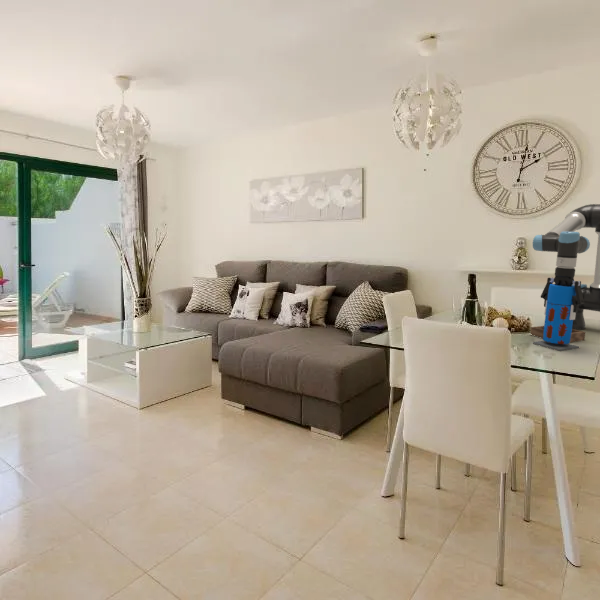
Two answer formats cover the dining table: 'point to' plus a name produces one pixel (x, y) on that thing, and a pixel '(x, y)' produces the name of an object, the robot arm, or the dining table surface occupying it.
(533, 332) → the tray
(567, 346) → the mat
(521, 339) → the dining table surface
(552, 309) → the blue box
